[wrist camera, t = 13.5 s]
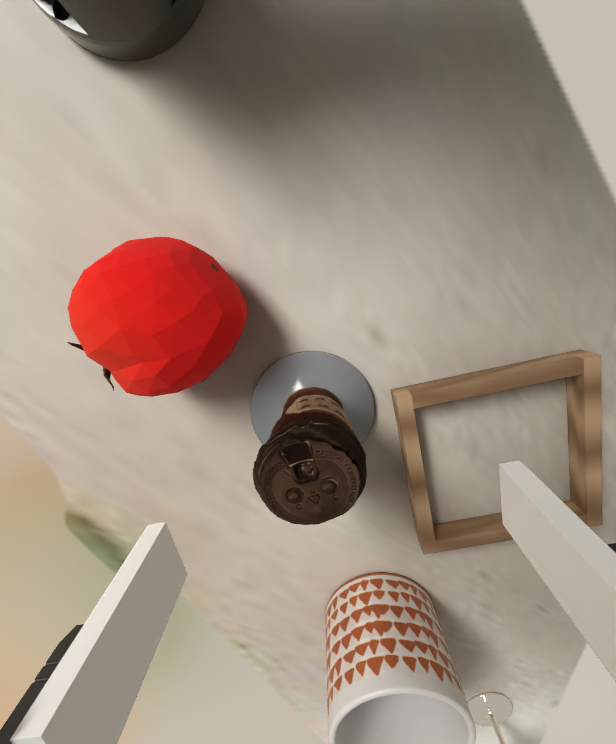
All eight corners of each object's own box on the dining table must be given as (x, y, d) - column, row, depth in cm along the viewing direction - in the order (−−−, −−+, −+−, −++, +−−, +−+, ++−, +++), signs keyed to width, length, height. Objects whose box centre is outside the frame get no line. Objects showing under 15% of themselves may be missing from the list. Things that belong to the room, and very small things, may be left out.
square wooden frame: (390, 389, 36) (396, 397, 34) (580, 349, 34) (600, 355, 32) (417, 538, 41) (423, 554, 39) (584, 509, 39) (602, 524, 37)
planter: (358, 666, 47) (372, 804, 35) (305, 597, 44) (300, 722, 32) (450, 628, 45) (501, 762, 32) (401, 553, 42) (437, 669, 29)
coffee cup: (289, 361, 35) (273, 410, 22) (365, 388, 35) (392, 451, 23) (262, 435, 37) (234, 517, 25) (334, 459, 38) (343, 551, 25)
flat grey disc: (236, 366, 36) (235, 367, 35) (360, 338, 35) (361, 339, 34) (269, 474, 39) (268, 477, 39) (383, 452, 38) (384, 455, 37)
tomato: (238, 259, 36) (140, 325, 38) (144, 165, 24) (13, 269, 27) (285, 361, 31) (172, 428, 34) (199, 306, 20) (36, 415, 22)
